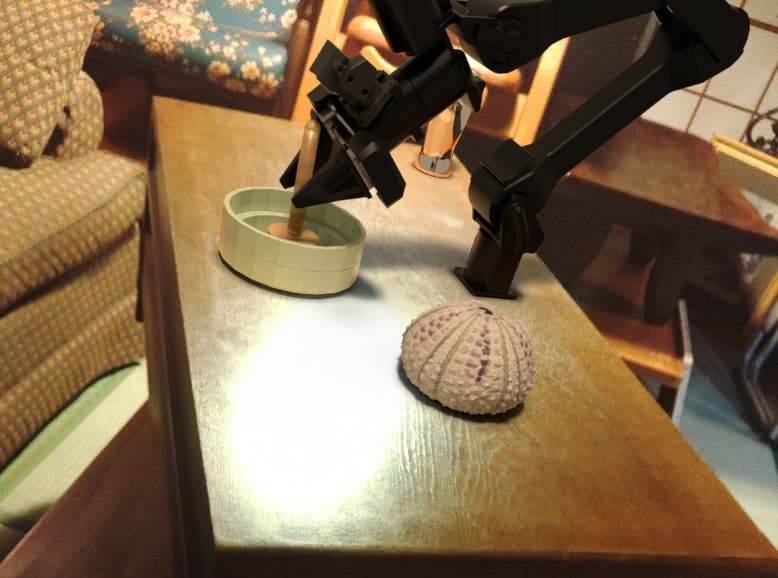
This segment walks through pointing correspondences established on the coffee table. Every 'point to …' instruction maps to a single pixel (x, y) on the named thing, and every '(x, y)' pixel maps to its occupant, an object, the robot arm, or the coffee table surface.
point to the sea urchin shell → (469, 357)
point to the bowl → (290, 242)
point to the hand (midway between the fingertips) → (287, 194)
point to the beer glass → (443, 139)
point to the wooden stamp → (304, 173)
